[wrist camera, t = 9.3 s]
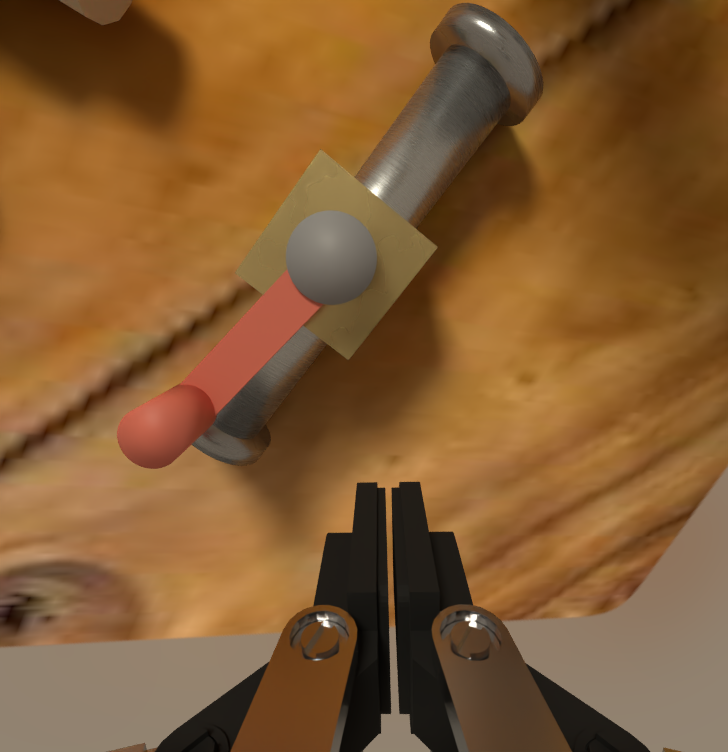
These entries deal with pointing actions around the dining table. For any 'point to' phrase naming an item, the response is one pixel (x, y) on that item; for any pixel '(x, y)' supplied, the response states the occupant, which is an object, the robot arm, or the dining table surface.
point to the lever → (255, 336)
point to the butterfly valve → (100, 9)
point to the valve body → (383, 206)
